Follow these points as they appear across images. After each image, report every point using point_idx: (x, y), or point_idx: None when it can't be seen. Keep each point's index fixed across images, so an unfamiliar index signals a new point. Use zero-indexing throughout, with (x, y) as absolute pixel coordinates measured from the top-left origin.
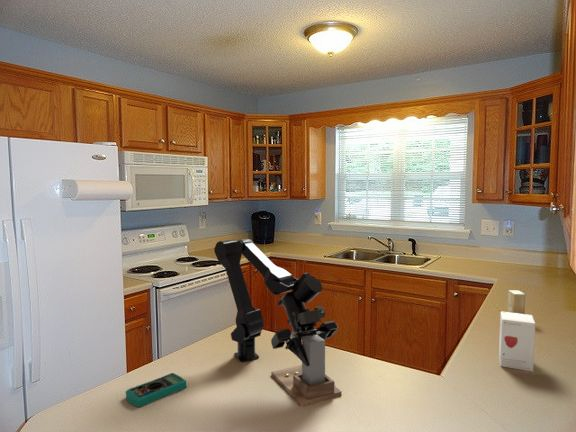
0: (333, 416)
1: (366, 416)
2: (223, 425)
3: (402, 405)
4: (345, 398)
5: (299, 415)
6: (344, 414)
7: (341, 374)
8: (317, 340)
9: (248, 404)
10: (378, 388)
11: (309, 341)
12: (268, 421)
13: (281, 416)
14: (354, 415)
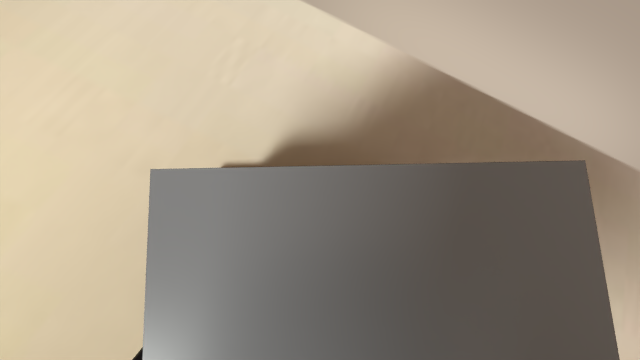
0: (319, 71)
1: (217, 21)
2: (634, 178)
3: (42, 11)
4: (213, 147)
5: (417, 125)
6: (279, 63)
7: (91, 348)
8: (358, 243)
9: None
10: (25, 154)
11: (571, 263)
12: (514, 139)
13: (471, 146)
14: (251, 44)
